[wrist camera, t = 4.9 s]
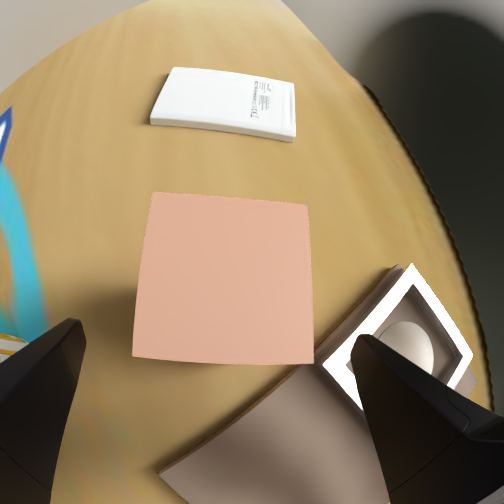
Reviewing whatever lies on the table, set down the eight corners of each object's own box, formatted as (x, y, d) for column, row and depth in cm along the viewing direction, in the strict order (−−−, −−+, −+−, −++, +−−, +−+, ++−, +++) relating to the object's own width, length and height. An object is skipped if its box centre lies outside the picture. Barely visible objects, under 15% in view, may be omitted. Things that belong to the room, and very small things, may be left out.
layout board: (293, 566, 11) (302, 580, 9) (160, 469, 13) (155, 482, 11) (469, 381, 19) (486, 380, 17) (391, 267, 21) (407, 258, 19)
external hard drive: (173, 77, 26) (290, 92, 27) (151, 129, 23) (291, 147, 24) (173, 65, 24) (294, 81, 26) (149, 116, 21) (296, 134, 23)
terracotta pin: (248, 360, 17) (313, 363, 7) (175, 356, 16) (131, 356, 6) (249, 289, 19) (307, 205, 8) (179, 285, 18) (153, 191, 8)
